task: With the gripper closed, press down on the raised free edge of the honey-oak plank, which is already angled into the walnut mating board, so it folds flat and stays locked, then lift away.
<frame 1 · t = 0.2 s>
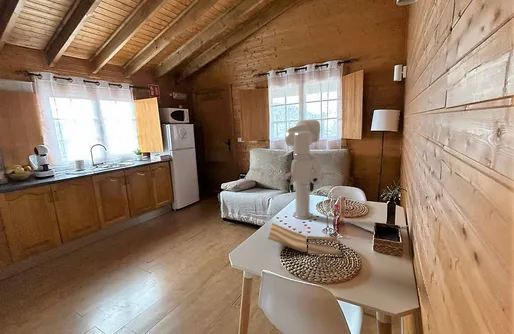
hand: (301, 191, 120), 30 cm above the table, tool pointing down, fingers open, 9 cm apart
oak plank: (288, 237, 127), point 4 cm above the table, hinge at 20.0°
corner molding: (371, 222, 156), on the table
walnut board: (323, 247, 124), on the table
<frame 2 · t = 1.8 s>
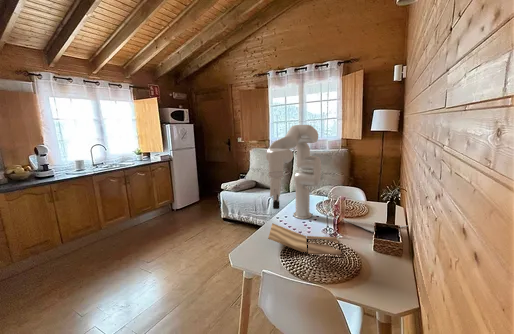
hand: (276, 208, 125), 20 cm above the table, tool pointing down, fingers closed
nothing on the table moved.
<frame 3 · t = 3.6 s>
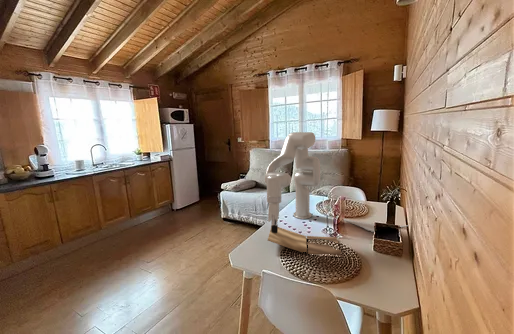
hand: (274, 232, 127), 7 cm above the table, tool pointing down, fingers closed
oak plank: (287, 238, 127), point 4 cm above the table, hinge at 17.0°, touching gripper
everything else where it was.
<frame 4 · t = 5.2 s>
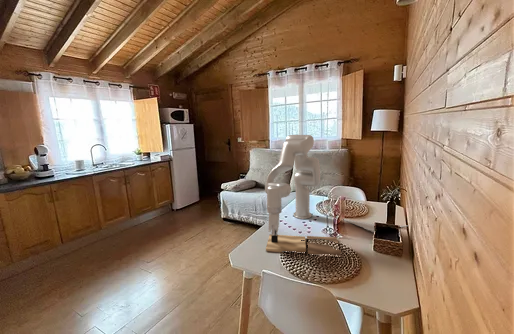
hand: (274, 241, 128), 2 cm above the table, tool pointing down, fingers closed
oak plank: (286, 243, 128), point 1 cm above the table, hinge at 0.8°, touching gripper
everything else where it was.
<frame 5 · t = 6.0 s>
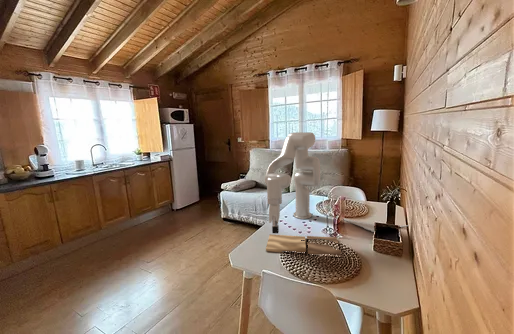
hand: (275, 232, 128), 7 cm above the table, tool pointing down, fingers closed
oak plank: (286, 243, 128), point 1 cm above the table, hinge at 0.7°
everything else where it was.
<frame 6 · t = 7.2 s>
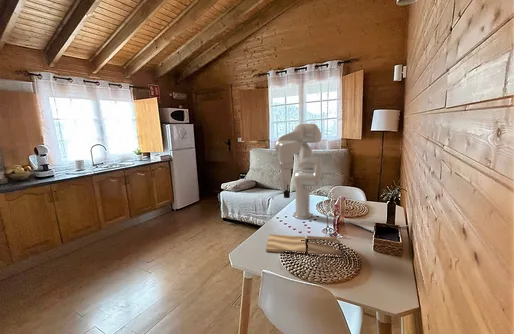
hand: (286, 197, 133), 24 cm above the table, tool pointing down, fingers closed
nothing on the table moved.
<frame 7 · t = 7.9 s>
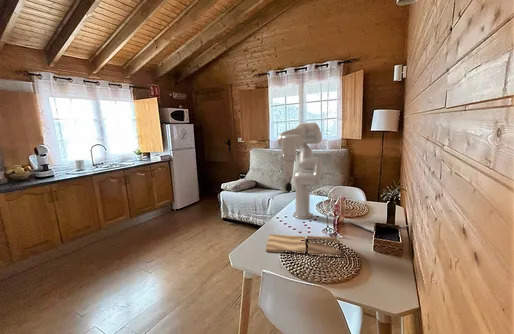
hand: (288, 190, 134), 27 cm above the table, tool pointing down, fingers closed
nothing on the table moved.
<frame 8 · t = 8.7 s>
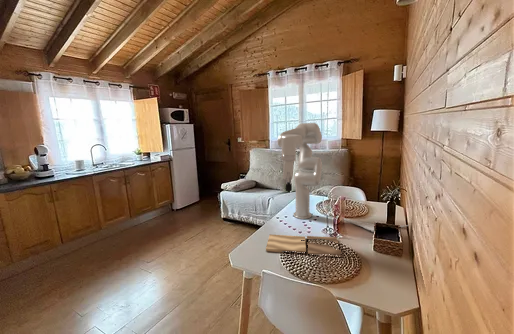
hand: (288, 190, 134), 27 cm above the table, tool pointing down, fingers closed
nothing on the table moved.
at the end: oak plank at +1° (first picture: +20°); the gripper is holding nothing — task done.
